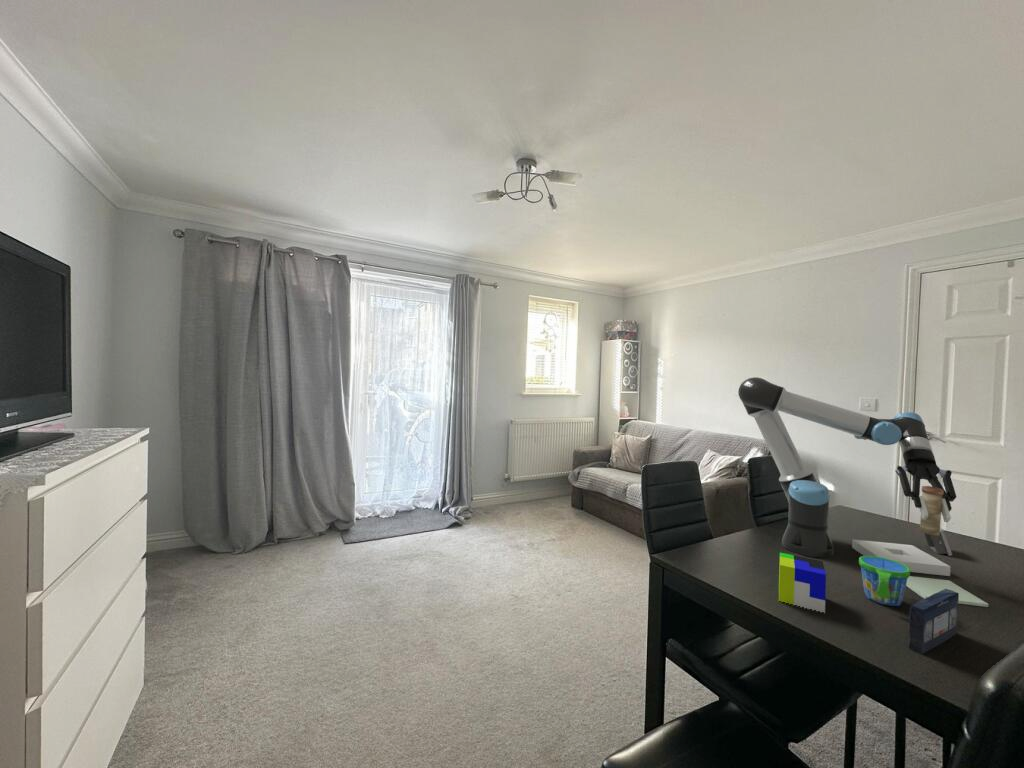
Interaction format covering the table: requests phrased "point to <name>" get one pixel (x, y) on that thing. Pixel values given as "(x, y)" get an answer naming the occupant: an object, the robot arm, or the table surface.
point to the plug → (932, 510)
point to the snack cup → (884, 579)
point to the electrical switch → (939, 543)
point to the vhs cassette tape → (933, 620)
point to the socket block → (903, 556)
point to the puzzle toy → (802, 582)
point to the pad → (932, 586)
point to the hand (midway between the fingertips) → (936, 518)
